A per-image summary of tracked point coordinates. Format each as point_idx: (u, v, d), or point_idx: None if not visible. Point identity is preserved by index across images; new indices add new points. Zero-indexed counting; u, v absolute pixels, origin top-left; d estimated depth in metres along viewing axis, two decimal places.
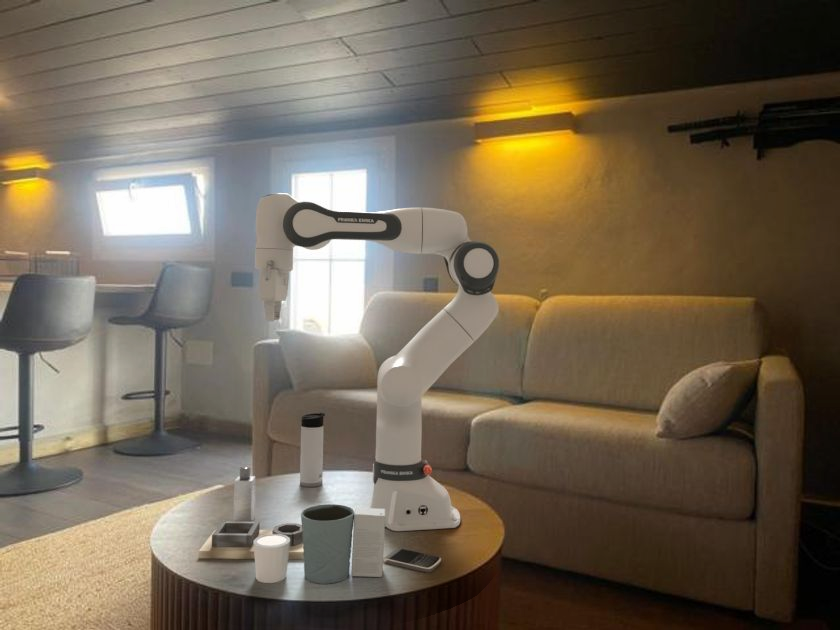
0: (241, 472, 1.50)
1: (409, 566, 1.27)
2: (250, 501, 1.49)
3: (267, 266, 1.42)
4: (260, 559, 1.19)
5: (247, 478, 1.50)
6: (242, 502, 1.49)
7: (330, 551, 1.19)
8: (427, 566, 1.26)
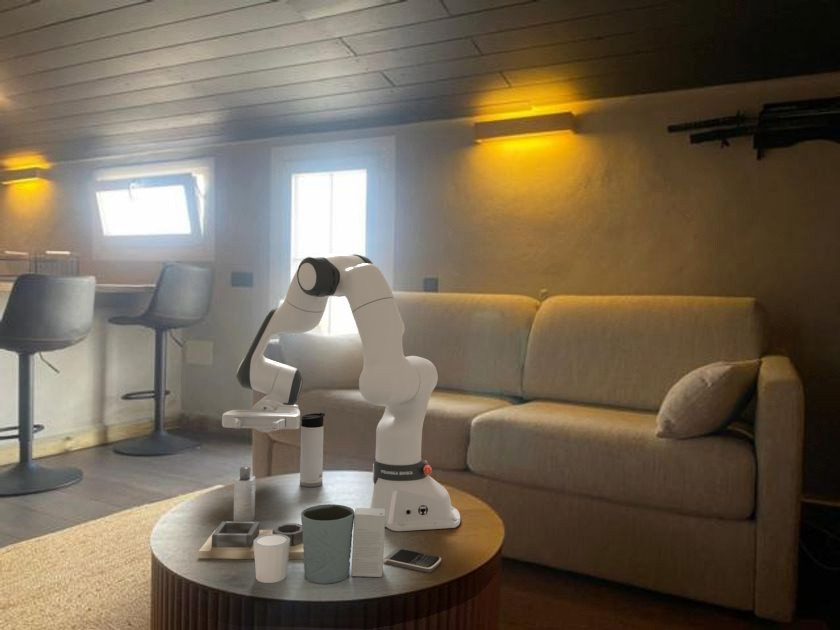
0: (241, 472, 1.50)
1: (409, 566, 1.27)
2: (250, 501, 1.49)
3: None
4: (260, 559, 1.19)
5: (247, 478, 1.50)
6: (242, 502, 1.49)
7: (330, 551, 1.19)
8: (427, 566, 1.26)
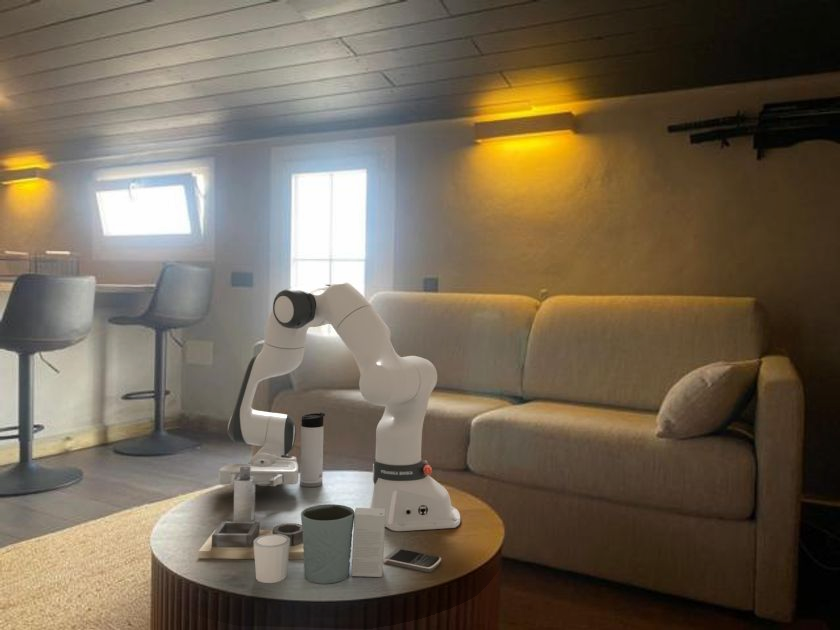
0: (241, 472, 1.50)
1: (410, 566, 1.27)
2: (250, 501, 1.49)
3: None
4: (260, 559, 1.19)
5: (247, 478, 1.50)
6: (242, 502, 1.49)
7: (330, 551, 1.19)
8: (427, 565, 1.26)
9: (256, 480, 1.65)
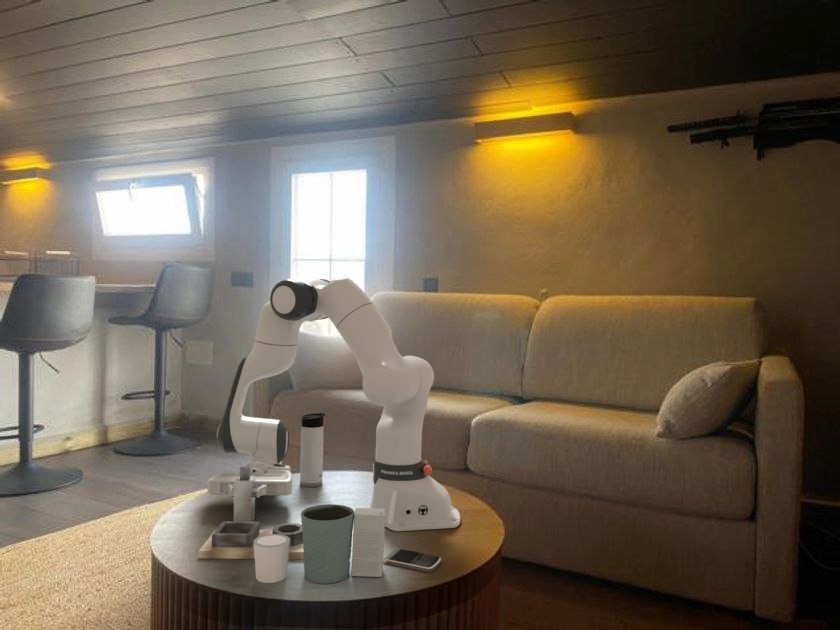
0: (241, 472, 1.50)
1: (410, 566, 1.27)
2: (250, 501, 1.49)
3: None
4: (260, 559, 1.19)
5: (247, 478, 1.50)
6: (242, 502, 1.49)
7: (330, 551, 1.19)
8: (428, 565, 1.26)
9: None
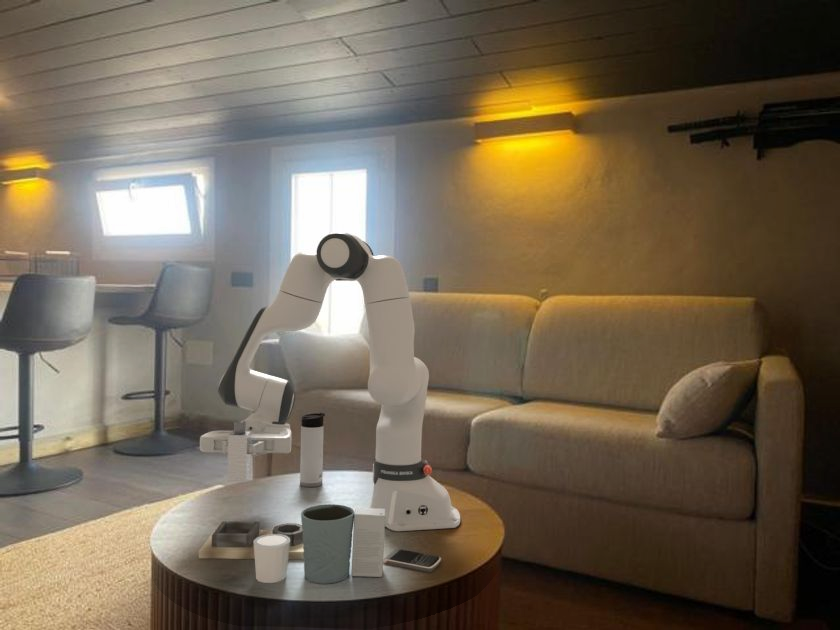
0: (235, 426, 1.38)
1: (410, 566, 1.27)
2: (245, 457, 1.37)
3: None
4: (260, 559, 1.19)
5: (242, 432, 1.38)
6: (237, 458, 1.37)
7: (330, 551, 1.19)
8: (428, 565, 1.26)
9: None
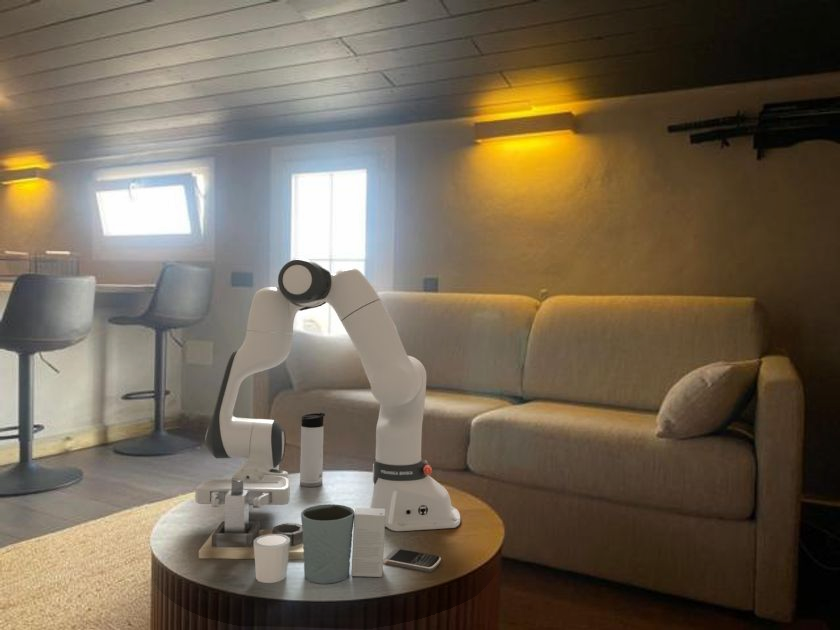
0: (233, 486, 1.34)
1: (410, 566, 1.27)
2: (243, 518, 1.33)
3: None
4: (260, 559, 1.19)
5: (240, 492, 1.34)
6: (234, 519, 1.33)
7: (330, 551, 1.19)
8: (428, 565, 1.26)
9: None
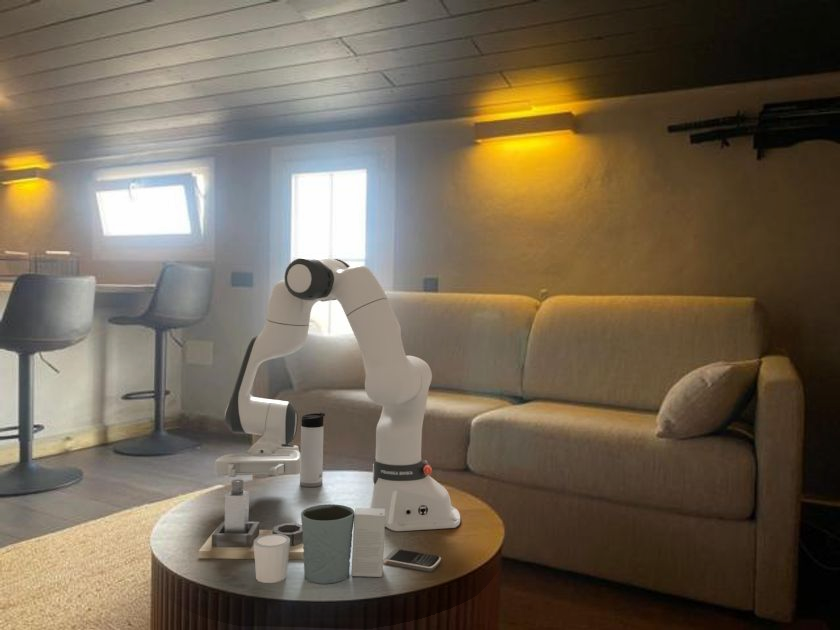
0: (233, 486, 1.34)
1: (410, 566, 1.27)
2: (243, 518, 1.33)
3: None
4: (260, 559, 1.19)
5: (240, 492, 1.34)
6: (234, 519, 1.33)
7: (330, 551, 1.19)
8: (428, 565, 1.26)
9: (255, 471, 1.52)
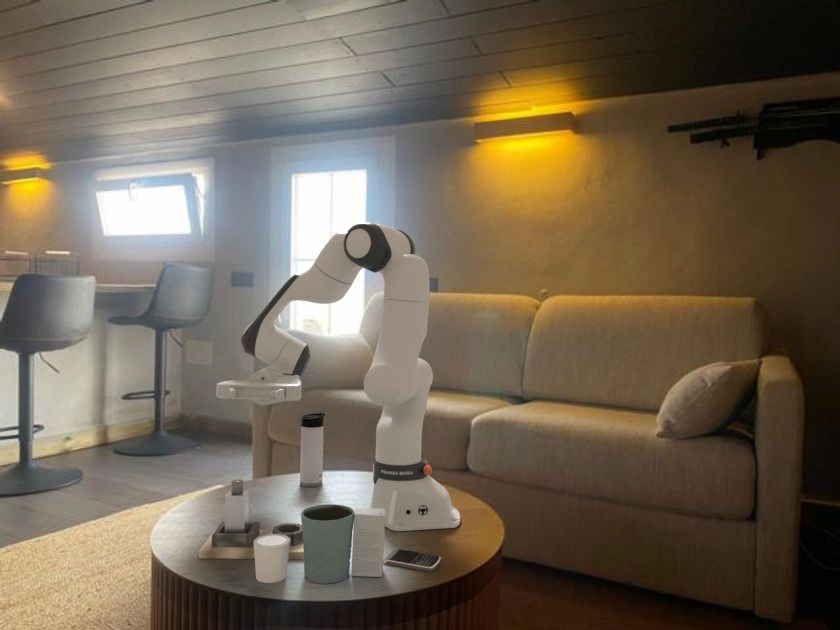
0: (233, 486, 1.34)
1: (411, 566, 1.27)
2: (243, 518, 1.33)
3: None
4: (260, 559, 1.19)
5: (240, 492, 1.34)
6: (234, 519, 1.33)
7: (330, 551, 1.19)
8: (429, 565, 1.26)
9: (256, 395, 1.54)
